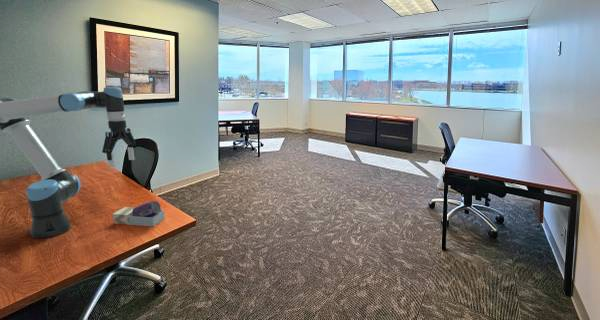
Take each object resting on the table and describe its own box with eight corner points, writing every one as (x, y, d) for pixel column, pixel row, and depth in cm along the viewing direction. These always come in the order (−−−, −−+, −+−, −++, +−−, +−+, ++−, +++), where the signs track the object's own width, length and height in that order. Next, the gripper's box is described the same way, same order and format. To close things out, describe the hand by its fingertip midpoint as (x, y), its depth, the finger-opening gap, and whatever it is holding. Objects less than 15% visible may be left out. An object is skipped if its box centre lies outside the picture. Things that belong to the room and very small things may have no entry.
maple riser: (114, 223, 160) (112, 213, 159) (126, 215, 169) (125, 206, 167) (128, 224, 159) (127, 214, 158) (140, 216, 167) (139, 207, 166)
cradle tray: (129, 224, 159) (128, 216, 157) (141, 216, 168) (140, 208, 167) (153, 226, 156) (152, 217, 155) (164, 218, 166) (164, 210, 165)
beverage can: (142, 222, 163) (161, 215, 160) (131, 219, 157) (150, 212, 154) (142, 209, 166) (161, 201, 163) (131, 206, 160) (150, 198, 157)
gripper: (103, 123, 144) (109, 170, 149) (140, 117, 167) (145, 157, 172) (88, 123, 145) (95, 169, 150) (128, 117, 169) (132, 156, 174)
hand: (122, 163), depth 161 cm, fingers open, 13 cm apart
